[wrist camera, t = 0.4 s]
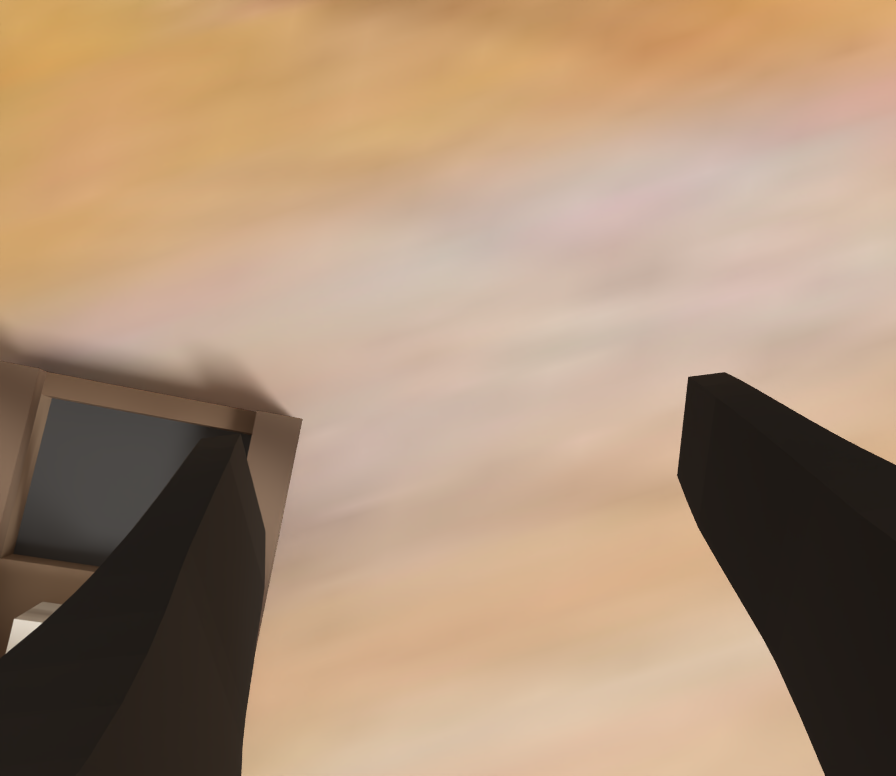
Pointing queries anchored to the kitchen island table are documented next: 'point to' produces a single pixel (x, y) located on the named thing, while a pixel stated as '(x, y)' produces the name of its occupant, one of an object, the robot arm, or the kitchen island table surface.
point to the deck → (106, 474)
